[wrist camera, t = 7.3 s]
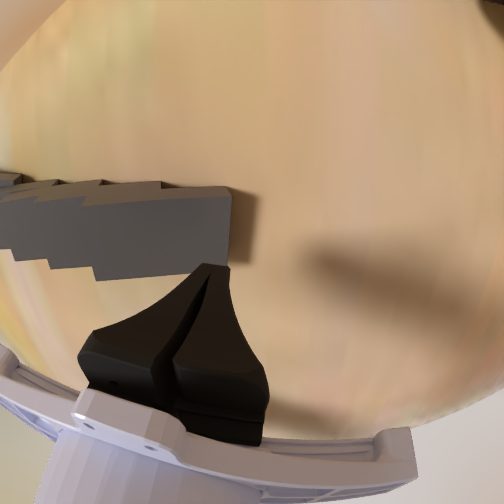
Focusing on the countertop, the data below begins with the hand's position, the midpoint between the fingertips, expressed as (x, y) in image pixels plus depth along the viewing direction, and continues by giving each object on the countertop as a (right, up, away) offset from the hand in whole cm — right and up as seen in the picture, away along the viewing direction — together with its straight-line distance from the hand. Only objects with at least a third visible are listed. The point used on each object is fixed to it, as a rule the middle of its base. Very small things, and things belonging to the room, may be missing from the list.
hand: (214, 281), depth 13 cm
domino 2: (-4, +3, +4) cm, 7 cm away
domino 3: (-9, +4, +5) cm, 11 cm away
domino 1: (0, +3, +4) cm, 5 cm away
